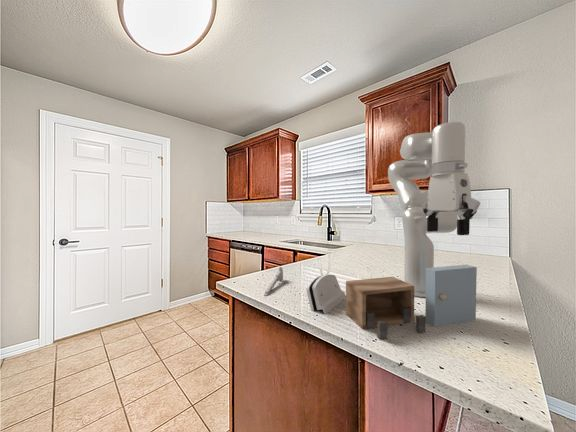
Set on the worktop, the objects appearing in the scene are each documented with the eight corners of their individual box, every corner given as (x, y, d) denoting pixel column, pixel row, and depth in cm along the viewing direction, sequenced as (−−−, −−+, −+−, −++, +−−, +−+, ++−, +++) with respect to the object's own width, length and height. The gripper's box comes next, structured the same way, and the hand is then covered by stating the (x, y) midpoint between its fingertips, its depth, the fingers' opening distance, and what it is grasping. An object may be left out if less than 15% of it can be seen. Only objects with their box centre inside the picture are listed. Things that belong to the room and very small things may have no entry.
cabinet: (345, 314, 71) (345, 281, 71) (392, 308, 75) (392, 276, 74) (374, 340, 57) (374, 299, 57) (430, 331, 61) (430, 292, 60)
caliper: (280, 279, 106) (280, 265, 106) (283, 280, 106) (282, 266, 106) (263, 296, 86) (263, 279, 86) (266, 296, 86) (266, 279, 86)
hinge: (325, 314, 71) (314, 281, 73) (312, 315, 74) (302, 283, 75) (346, 297, 84) (337, 269, 86) (335, 298, 87) (326, 271, 89)
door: (425, 321, 66) (425, 268, 65) (465, 315, 69) (466, 264, 69) (438, 329, 62) (439, 272, 61) (480, 322, 65) (481, 268, 65)
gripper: (491, 165, 57) (490, 236, 58) (433, 175, 74) (432, 229, 75) (466, 164, 56) (465, 237, 56) (412, 174, 73) (412, 230, 73)
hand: (446, 233), depth 66 cm, fingers open, 9 cm apart
